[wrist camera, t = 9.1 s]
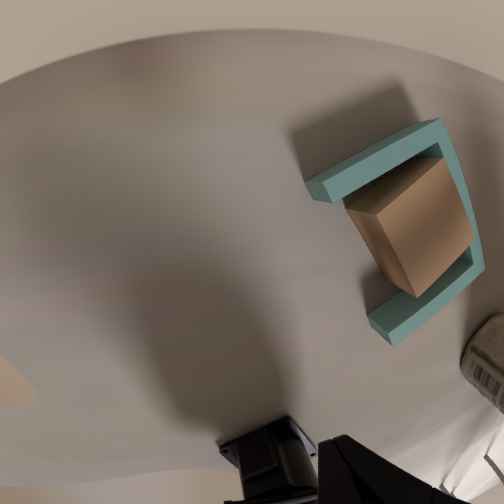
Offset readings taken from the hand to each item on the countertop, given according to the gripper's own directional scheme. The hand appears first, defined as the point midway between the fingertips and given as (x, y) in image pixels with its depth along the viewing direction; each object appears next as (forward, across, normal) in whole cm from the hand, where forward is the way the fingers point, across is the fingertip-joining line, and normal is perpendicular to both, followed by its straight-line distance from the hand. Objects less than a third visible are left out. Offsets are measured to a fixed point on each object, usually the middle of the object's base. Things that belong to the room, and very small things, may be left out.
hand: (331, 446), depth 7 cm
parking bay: (+12, -10, -3) cm, 16 cm away
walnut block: (+12, -10, -3) cm, 16 cm away
